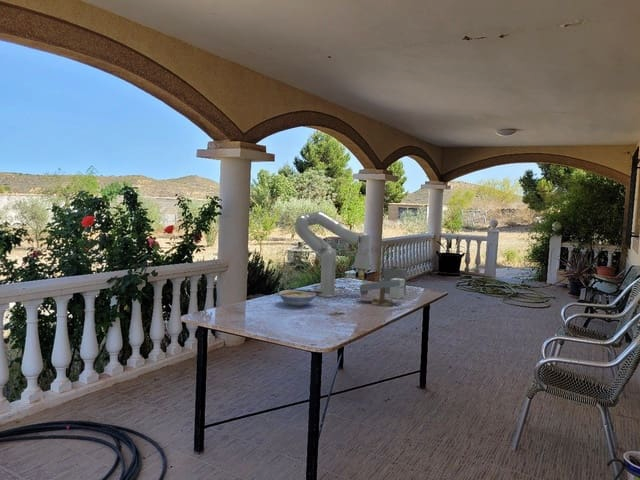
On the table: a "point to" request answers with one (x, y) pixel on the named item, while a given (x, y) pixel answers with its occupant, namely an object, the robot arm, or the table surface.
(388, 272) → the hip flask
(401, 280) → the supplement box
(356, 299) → the table surface
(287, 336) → the table surface
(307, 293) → the ramen bowl
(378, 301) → the pivot stand
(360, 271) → the brass weight
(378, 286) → the balance beam
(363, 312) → the table surface
